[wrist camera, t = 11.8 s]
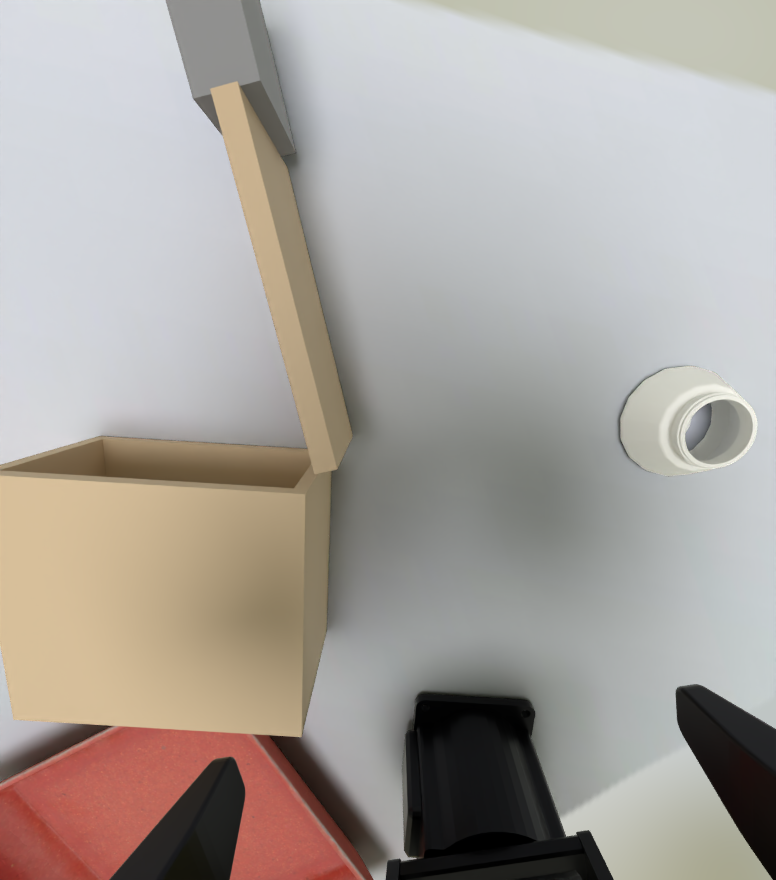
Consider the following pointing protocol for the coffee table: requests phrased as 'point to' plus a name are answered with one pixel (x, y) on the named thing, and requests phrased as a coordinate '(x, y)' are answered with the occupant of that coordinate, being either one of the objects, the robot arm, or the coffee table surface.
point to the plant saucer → (162, 808)
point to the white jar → (685, 422)
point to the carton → (164, 584)
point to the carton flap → (266, 199)
